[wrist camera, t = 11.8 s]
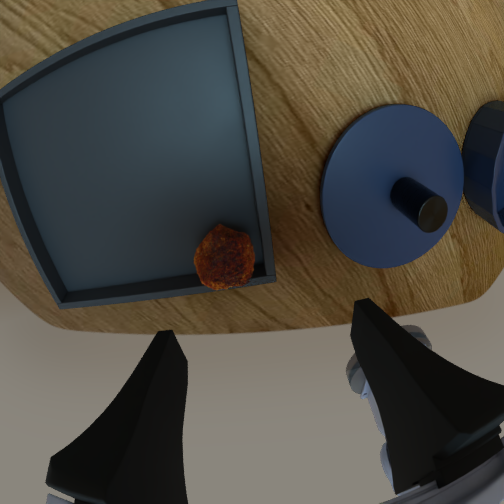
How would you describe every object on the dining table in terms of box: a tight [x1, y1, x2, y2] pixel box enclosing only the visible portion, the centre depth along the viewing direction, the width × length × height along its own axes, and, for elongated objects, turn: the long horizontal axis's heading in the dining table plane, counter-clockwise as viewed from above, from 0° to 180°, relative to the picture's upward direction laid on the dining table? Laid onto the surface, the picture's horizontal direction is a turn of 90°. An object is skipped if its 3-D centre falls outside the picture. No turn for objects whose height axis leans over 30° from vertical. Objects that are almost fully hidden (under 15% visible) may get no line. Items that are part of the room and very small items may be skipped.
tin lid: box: [320, 104, 464, 268], centre depth 16 cm, size 12×12×5 cm
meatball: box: [194, 224, 255, 290], centre depth 17 cm, size 4×4×4 cm
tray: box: [0, 0, 276, 309], centre depth 15 cm, size 17×17×2 cm
